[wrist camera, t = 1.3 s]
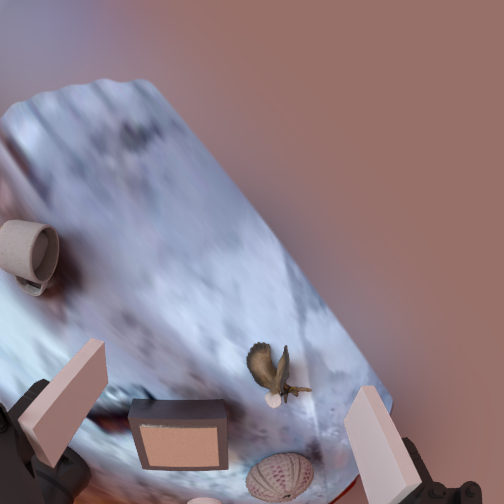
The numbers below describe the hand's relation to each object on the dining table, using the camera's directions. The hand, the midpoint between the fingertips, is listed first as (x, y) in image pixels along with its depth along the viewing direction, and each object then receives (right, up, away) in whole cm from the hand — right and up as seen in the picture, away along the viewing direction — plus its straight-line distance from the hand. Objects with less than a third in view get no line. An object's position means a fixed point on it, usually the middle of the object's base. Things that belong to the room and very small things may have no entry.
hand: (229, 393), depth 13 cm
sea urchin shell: (+6, -36, +31) cm, 48 cm away
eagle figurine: (+4, -10, +28) cm, 30 cm away
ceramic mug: (-29, +6, +20) cm, 36 cm away
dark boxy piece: (-10, -22, +26) cm, 35 cm away
